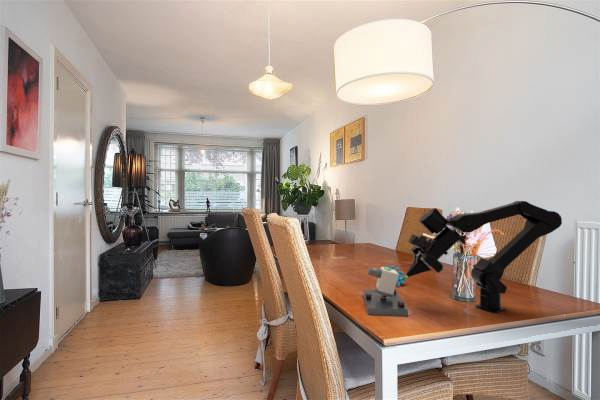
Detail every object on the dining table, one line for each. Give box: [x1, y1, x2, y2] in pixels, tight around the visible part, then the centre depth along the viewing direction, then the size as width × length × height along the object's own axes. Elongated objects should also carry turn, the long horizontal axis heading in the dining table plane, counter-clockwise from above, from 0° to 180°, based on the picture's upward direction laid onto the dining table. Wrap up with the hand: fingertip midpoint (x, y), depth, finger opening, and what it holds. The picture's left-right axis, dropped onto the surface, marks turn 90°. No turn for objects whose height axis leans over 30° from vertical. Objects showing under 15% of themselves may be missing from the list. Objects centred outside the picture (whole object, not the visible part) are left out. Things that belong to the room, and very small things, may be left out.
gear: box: [385, 265, 408, 287], centre depth 132 cm, size 11×6×10 cm
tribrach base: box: [362, 288, 409, 317], centre depth 106 cm, size 12×20×3 cm, turn 173°
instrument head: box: [367, 266, 400, 297], centre depth 107 cm, size 10×6×9 cm, turn 83°
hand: (407, 275), depth 106 cm, fingers closed
